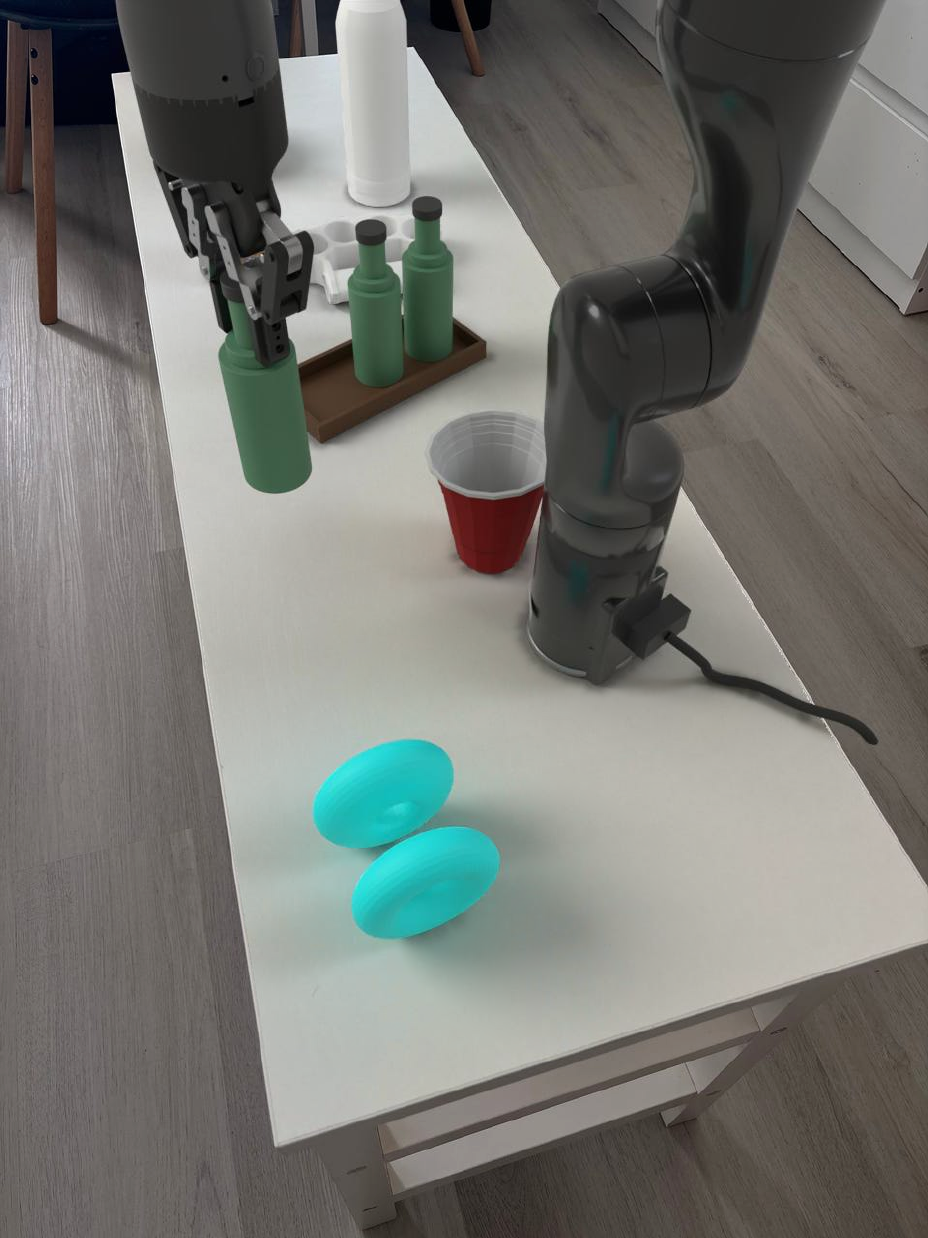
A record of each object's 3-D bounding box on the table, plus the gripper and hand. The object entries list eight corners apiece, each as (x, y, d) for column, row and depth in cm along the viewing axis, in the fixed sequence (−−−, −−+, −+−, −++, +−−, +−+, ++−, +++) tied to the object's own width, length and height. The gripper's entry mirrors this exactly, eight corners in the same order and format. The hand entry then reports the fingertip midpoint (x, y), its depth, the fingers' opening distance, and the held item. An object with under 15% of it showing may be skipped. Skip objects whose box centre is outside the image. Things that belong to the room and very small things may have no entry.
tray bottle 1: (413, 374, 100) (409, 229, 88) (374, 394, 98) (364, 249, 86) (383, 350, 102) (376, 206, 90) (345, 369, 100) (331, 224, 88)
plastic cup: (487, 487, 91) (492, 383, 82) (574, 549, 86) (590, 448, 77) (400, 546, 86) (395, 444, 77) (488, 616, 82) (494, 516, 72)
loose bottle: (325, 473, 72) (300, 279, 59) (268, 504, 70) (229, 309, 57) (287, 438, 74) (255, 244, 62) (231, 466, 72) (185, 272, 60)
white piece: (302, 317, 107) (280, 244, 115) (461, 293, 110) (428, 224, 118) (299, 290, 104) (276, 217, 112) (462, 266, 107) (428, 197, 116)
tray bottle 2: (462, 349, 103) (465, 205, 90) (425, 368, 101) (422, 223, 88) (432, 327, 105) (431, 183, 92) (395, 345, 103) (389, 201, 90)
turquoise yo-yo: (366, 965, 64) (356, 907, 56) (314, 836, 69) (298, 766, 61) (503, 903, 67) (512, 839, 59) (442, 784, 72) (443, 711, 64)
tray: (486, 357, 103) (487, 341, 101) (320, 443, 94) (318, 427, 93) (431, 316, 107) (431, 300, 106) (267, 395, 98) (265, 379, 97)
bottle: (423, 187, 124) (419, -95, 100) (387, 214, 120) (374, -73, 96) (372, 168, 126) (356, -111, 103) (335, 195, 122) (309, -90, 98)
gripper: (72, 33, 52) (149, 314, 65) (213, 134, 45) (266, 423, 59) (196, -1, 55) (245, 274, 68) (346, 89, 48) (367, 374, 62)
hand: (254, 342), depth 63 cm, fingers closed on loose bottle, 4 cm apart
